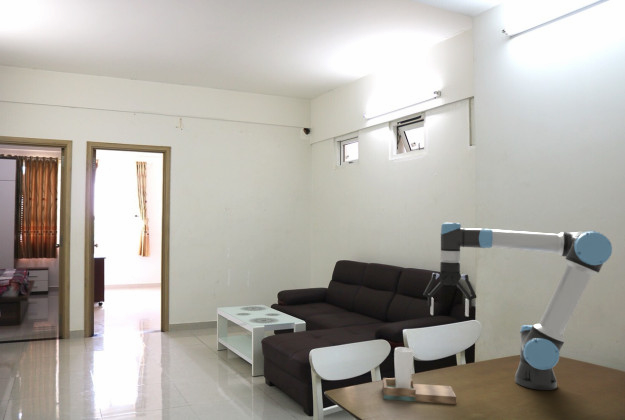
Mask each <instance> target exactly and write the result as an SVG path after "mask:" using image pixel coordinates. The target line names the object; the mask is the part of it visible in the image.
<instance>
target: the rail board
mask: <svg viewBox="0 0 625 420" xmlns="http://www.w3.org/2000/svg"><path fill="white" fill-rule="evenodd" d="M382 393H383V400H390V401H392V400H393V401H404V402H405V401H406V402H423V403H436V404H452V405H453V404H454V405H456V404H457V395H456V394H455V392H454V389H453V388H452V386H450V385H441V384H440V385H439V384H437V385H435V384H424V383H423V384H421V383H414V380H413V379H411V386H410V388H396V382H395V378H394V377H393V378H392V377H391V378H390V377H389V378H388V377H383V378H382Z"/></svg>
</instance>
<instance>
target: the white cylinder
mask: <svg viewBox="0 0 625 420" xmlns="http://www.w3.org/2000/svg"><path fill="white" fill-rule="evenodd" d="M393 356H394V357H393V359H394V360H393V361H394V379H395V382H396V388H410V386H411V380H412V375H413V374H412V373H413V364H414V350H413V349H412V348H410V347H405V346H397V347H395V348H394V353H393Z"/></svg>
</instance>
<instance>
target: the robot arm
mask: <svg viewBox="0 0 625 420" xmlns="http://www.w3.org/2000/svg"><path fill="white" fill-rule="evenodd" d="M461 248H477V249H478V248H480V249H490V248H495V249H503V250H505V249H507V250H519V251H527V252H540V253H551V254H558V255H559V256H560V257H565V259H564V260H565V263H566V267H565V269H564V271H563V272H562V275H561V277H560V279H559V281H558V284H557V286H556V287H555V290H554V292H553V294H552V296H551V298H550V300H549V302H548V304H547V306H546V308H545V309H544V313H543V314H542V316H541V318H540V320H539V322H538V323H535V324H533V325H532V324H531V325H530V324H523V325H521V326H520V331H519V333H520V344H519V345H520V350H519V351H520V352H519V355H520V356H519V364H518V366H517V367H518V368H517V369H516V372H515V374H514V375H515V376H514V381H515V383H516V384H518V385H519V386H521V387H525V388H527V389H531V390H537V391H539V390H540V391H553V390H555V389H557V388H558V385H557V384H558V382H557V381H558V380H557V378H556V375H555V372H554V367H555V366H556V365H557V364H558V363H559V360H560V355H561V354H560V352H561V350H562V348H563V347H564V344H565V342H566V339H565V337H564V333H565V331H566V328H567V326H568V324H569V323H570V321H571V319H572V316H573V314H575V313H574V312H575V311H576V308H577V306H578V304H579V302H580V301H581V298H582V296H583V294H584V293H585V291H586V288H587V286H588V285H589V283H590V280H591V278H592V276H595V275H598V274H600V273H599V272H600V271H601V269H602V267H603V265H604V264H605V263H606V262H607V261H608V260H609V259H610V258H611V256H612V253H613V246H612V243H611V241H610V239H609V238H608V237H607V236H606V235H604V234H603V233H600V231H599V232H598V231H596V230H581V231H574V232H573V231H569V232H568V231H561V232H560V233H547V232H546V233H545V232H537V231H536V232H534V231H521V230H520V231H519V230H507V229H506V230H505V229H495V228H492V229H491V228H481V227H475V228H473V227H472V228H468V227H467V228H466V227H462V224H461V223H460V222H443V223H442V224H441V228H440V264H439V265H440V268H439V269H440V273H435V272H432V274H431V279H430V280H429V283H428V284H427V286H426V288H425V290H424V291H423V296H424V297H426V298H427V306H428V307H430V309H429V310H430V311H429V312H430V315H431V316H434V304H435V303H434V300H435V299H434V298H433V297H434V296H435V294H436V293H437V292H438V291H439V290H440V289H441V288H442V287H443V286H444V285H445V286H455V285H456V286H457V287H458V289H460V291H461V292H462V293H463V295H464V296H465V297H466V298H465V300H464V301H465V304H464V305H465V306H464V307H465V308H464V309H465V310H464V311H465V312H464V316H465V317H469V316H470V315H469V313H470V310H469V309H471V308H472V301H473V299H477V294H476V292H475V290H474V288H473V286H472V284H471V282H470V279H469V275H468V274H467V273H464V274H461V263H460V261H461ZM438 278H439V279H440V281H439V282H438V283H437V285H436V286H435V287H434V288H433V289H432V287H433V285H434V284H435V282H436V280H437V279H438ZM461 279H462V280H464V283H465V285H466V286H467V289H468V291H469V292H467V289H465V287H464V286H463V285H462V284H461V283H460V280H461ZM431 289H432V290H431Z"/></svg>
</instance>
